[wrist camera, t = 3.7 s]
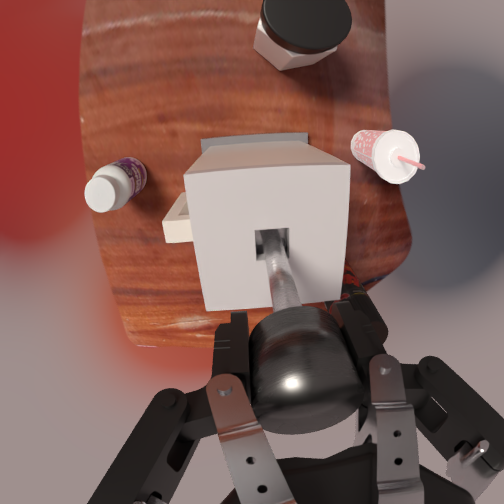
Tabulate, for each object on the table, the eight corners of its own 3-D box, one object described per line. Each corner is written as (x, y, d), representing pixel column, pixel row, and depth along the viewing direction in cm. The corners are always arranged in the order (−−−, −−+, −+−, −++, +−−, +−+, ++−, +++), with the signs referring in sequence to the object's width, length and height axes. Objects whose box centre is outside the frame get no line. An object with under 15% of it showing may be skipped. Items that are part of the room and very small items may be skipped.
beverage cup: (386, 165, 36) (445, 194, 23) (348, 170, 36) (398, 201, 24) (382, 123, 33) (445, 134, 21) (342, 126, 33) (394, 136, 21)
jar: (310, 80, 30) (343, 66, 20) (247, 63, 29) (251, 39, 19) (325, 23, 27) (360, -8, 16) (264, 6, 25) (274, -35, 15)
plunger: (209, 183, 20) (152, 334, 7) (322, 175, 20) (453, 300, 7) (221, 280, 24) (210, 457, 10) (319, 272, 24) (384, 433, 11)
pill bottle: (155, 182, 36) (130, 205, 27) (125, 200, 37) (95, 227, 28) (136, 148, 34) (105, 161, 25) (106, 168, 34) (71, 187, 26)
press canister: (184, 140, 34) (134, 167, 17) (304, 131, 34) (364, 150, 17) (196, 233, 40) (170, 321, 23) (306, 225, 40) (349, 307, 23)
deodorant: (306, 276, 44) (332, 345, 30) (334, 249, 42) (372, 313, 28) (330, 295, 46) (359, 363, 32) (357, 271, 44) (396, 334, 30)
